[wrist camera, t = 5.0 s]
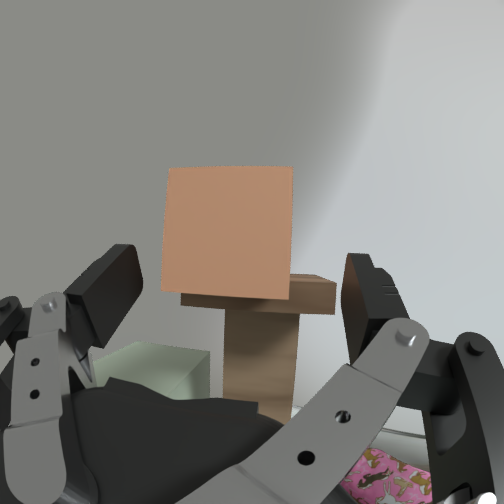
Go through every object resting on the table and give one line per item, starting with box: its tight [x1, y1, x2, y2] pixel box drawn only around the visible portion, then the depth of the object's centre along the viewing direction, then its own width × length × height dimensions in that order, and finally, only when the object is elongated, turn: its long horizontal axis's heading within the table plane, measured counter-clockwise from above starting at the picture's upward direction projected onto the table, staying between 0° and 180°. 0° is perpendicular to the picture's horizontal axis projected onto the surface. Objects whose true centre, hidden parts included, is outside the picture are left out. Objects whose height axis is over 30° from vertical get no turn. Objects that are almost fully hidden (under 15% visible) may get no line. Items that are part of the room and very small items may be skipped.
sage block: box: [93, 341, 210, 400], centre depth 27 cm, size 16×10×22 cm, turn 173°
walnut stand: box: [181, 274, 337, 425], centre depth 26 cm, size 16×12×32 cm
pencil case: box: [341, 448, 432, 504], centre depth 23 cm, size 21×9×9 cm, turn 34°
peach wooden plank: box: [161, 166, 293, 300], centre depth 21 cm, size 24×4×4 cm, turn 173°
